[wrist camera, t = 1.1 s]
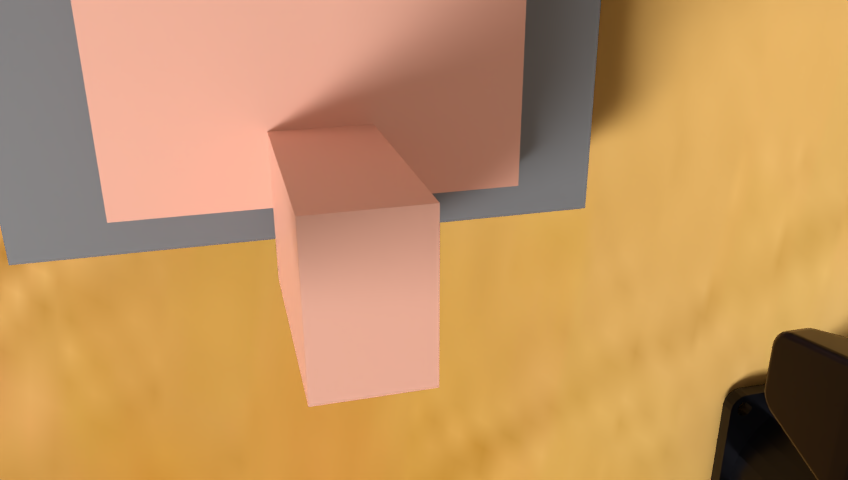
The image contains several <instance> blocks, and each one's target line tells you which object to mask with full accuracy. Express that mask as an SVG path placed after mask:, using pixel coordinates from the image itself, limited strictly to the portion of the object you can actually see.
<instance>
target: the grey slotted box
mask: <svg viewBox="0 0 848 480" xmlns="http://www.w3.org/2000/svg"><path fill="white" fill-rule="evenodd" d="M600 7H601V0H526V21H525V44H524V67H523V90H522V113H521V135H520V158H519V181H518V186H511V187H500V188H489V189H477V190H466V191H455V192H444V193H433V195H434V197H435V198H436V199H437V200H438V201H439V203H440V222H450V221H460V220H470V219H480V218H490V217H500V216H510V215H520V214H530V213H540V212H551V211H561V210H571V209H581V208H585V201H586V188H587V175H588V162H589V149H590V136H591V123H592V110H593V98H594V85H595V72H596V59H597V46H598V33H599V20H600ZM0 226H1V231H2V235H3V240H4V245H5V249H6V254H7V258H8V263H9V265H16V264H26V263H36V262H46V261H56V260H66V259H76V258H87V257H97V256H107V255H117V254H127V253H137V252H147V251H157V250H167V249H177V248H187V247H197V246H208V245H218V244H228V243H238V242H248V241H258V240H268V239H276V237H275V225H274V212H273V208H267V209H255V210H244V211H233V212H222V213H211V214H200V215H189V216H178V217H167V218H156V219H144V220H133V221H122V222H111V223H107V219H106V213H105V207H104V201H103V195H102V188H101V182H100V176H99V170H98V164H97V158H96V152H95V146H94V140H93V134H92V128H91V121H90V115H89V109H88V103H87V97H86V91H85V85H84V79H83V73H82V67H81V60H80V54H79V48H78V42H77V36H76V30H75V24H74V18H73V12H72V6H71V0H0Z"/></svg>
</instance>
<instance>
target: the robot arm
mask: <svg viewBox="0 0 848 480" xmlns="http://www.w3.org/2000/svg"><path fill="white" fill-rule="evenodd" d="M742 403H743V404H742ZM741 404H742V405H741ZM740 405H741V406H740ZM739 406H740V407H739ZM711 480H848V338H846V337H843V336H839V335H835V334H832V333H828V332H824V331H820V330H817V329H812V328H804V329H797V330H791V331H785V332H782V333H780V334H779V335H778V336H777V337H776V338H775V340H774V342H773V346H772V352H771V357H770V362H769V368H768V373H767V379H766V384H763V385H757V386H751V387H745V388H739V389H736V390H734V391H732V392H731V393H730V394H728V396H727V397H726V398H725V401H724V403H723V409H722V415H721V421H720V427H719V433H718V439H717V446H716V452H715V458H714V464H713V470H712V476H711Z"/></svg>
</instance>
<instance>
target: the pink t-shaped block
mask: <svg viewBox="0 0 848 480" xmlns="http://www.w3.org/2000/svg"><path fill="white" fill-rule="evenodd" d="M71 6H72V12H73V18H74V24H75V30H76V36H77V42H78V48H79V54H80V60H81V67H82V73H83V79H84V85H85V91H86V97H87V103H88V109H89V115H90V121H91V128H92V134H93V140H94V146H95V152H96V158H97V164H98V170H99V176H100V182H101V188H102V195H103V201H104V207H105V213H106V219H107V223H111V222H122V221H133V220H144V219H156V218H167V217H178V216H189V215H200V214H211V213H222V212H233V211H244V210H255V209H267V208H273V212H274V225H275V237H276V250H277V263H278V275H279V282H280V286H281V291H282V295H283V299H284V304H285V308H286V312H287V316H288V321H289V325H290V329H291V334H292V338H293V342H294V347H295V351H296V355H297V360H298V364H299V368H300V372H301V377H302V381H303V385H304V390H305V394H306V398H307V403H308V407H311V406H318V405H325V404H331V403H338V402H345V401H351V400H358V399H365V398H372V397H378V396H385V395H392V394H398V393H405V392H412V391H418V390H425V389H432V388H438V387H439V284H440V203H439V201H438V200H437V199H436V198H435V197H434V195H433V193H444V192H455V191H466V190H477V189H489V188H500V187H511V186H518V181H519V158H520V135H521V113H522V90H523V67H524V44H525V21H526V0H71Z"/></svg>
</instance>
